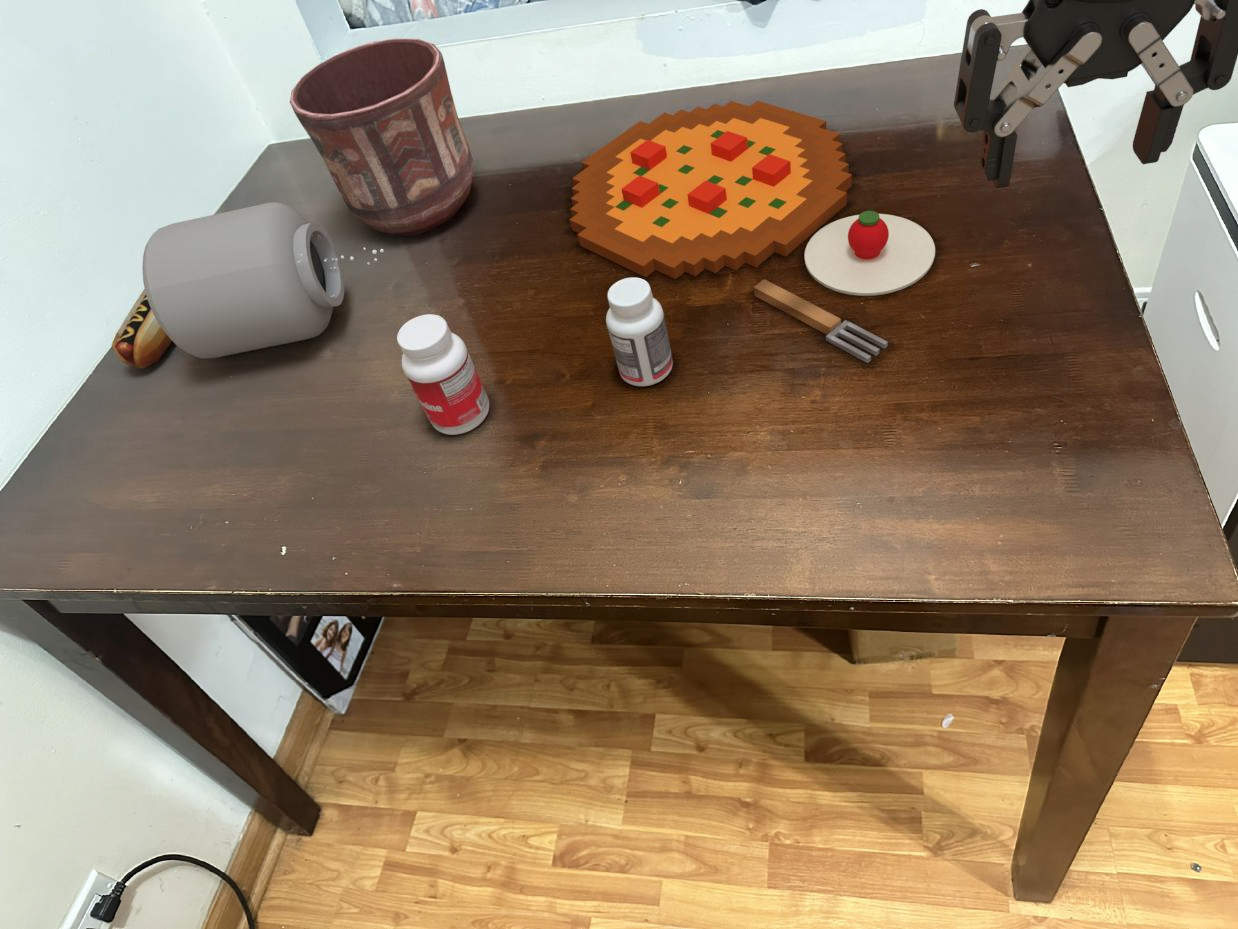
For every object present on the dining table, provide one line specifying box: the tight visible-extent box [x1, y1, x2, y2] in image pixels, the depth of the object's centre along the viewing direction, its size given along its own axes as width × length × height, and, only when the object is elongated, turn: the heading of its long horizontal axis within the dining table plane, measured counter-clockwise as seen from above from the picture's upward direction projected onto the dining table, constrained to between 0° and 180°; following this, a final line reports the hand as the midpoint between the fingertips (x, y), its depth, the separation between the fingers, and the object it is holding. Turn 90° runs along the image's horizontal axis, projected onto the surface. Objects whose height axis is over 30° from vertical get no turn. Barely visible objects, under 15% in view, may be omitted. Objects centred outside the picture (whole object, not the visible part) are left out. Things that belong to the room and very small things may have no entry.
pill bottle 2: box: [605, 276, 674, 387], centre depth 81 cm, size 5×5×10 cm
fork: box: [753, 278, 889, 364], centre depth 84 cm, size 15×3×1 cm, turn 41°
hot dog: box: [111, 288, 173, 369], centre depth 102 cm, size 5×13×5 cm, turn 176°
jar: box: [141, 201, 385, 360], centre depth 94 cm, size 19×15×25 cm
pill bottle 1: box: [396, 313, 490, 436], centre depth 82 cm, size 6×6×11 cm
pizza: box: [568, 100, 853, 280], centre depth 101 cm, size 32×32×3 cm
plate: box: [804, 213, 936, 297], centre depth 89 cm, size 13×13×1 cm
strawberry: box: [848, 210, 889, 259], centre depth 88 cm, size 4×4×4 cm
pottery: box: [289, 37, 474, 237], centre depth 104 cm, size 18×18×18 cm
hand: (1070, 168), depth 54 cm, fingers open, 8 cm apart
